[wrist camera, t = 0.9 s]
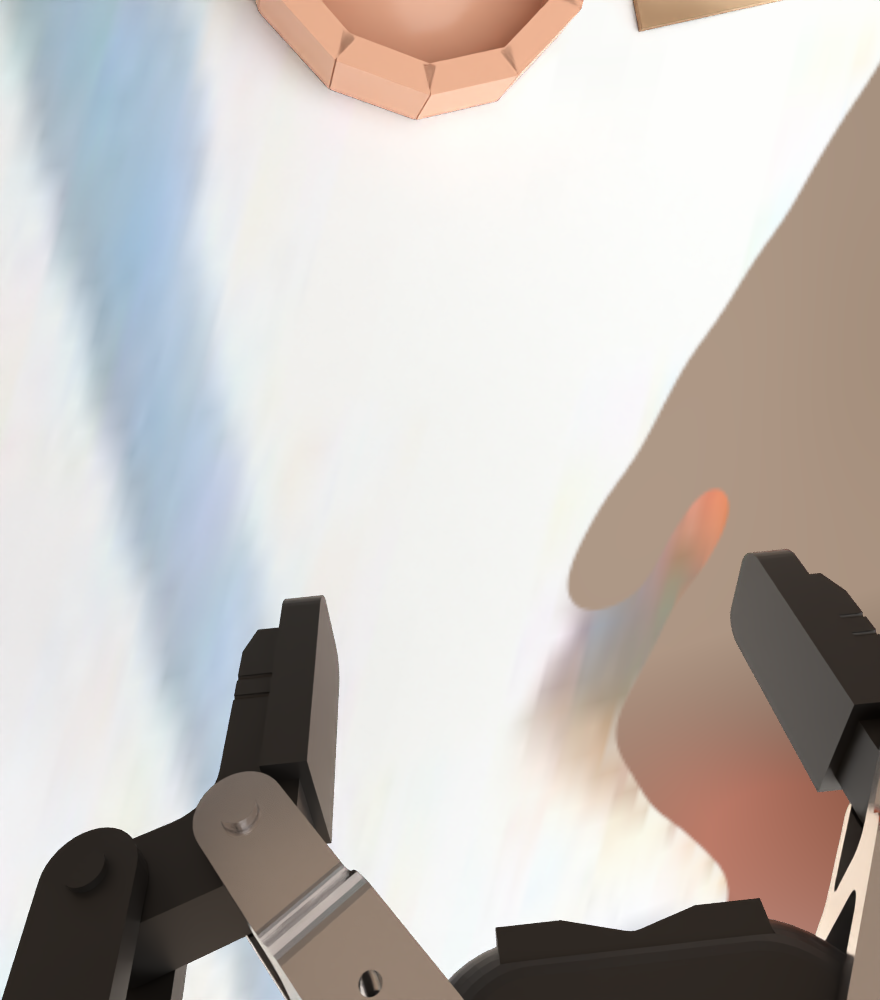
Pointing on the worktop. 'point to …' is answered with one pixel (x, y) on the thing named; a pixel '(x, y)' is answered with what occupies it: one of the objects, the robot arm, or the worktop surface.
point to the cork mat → (685, 10)
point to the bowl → (419, 47)
